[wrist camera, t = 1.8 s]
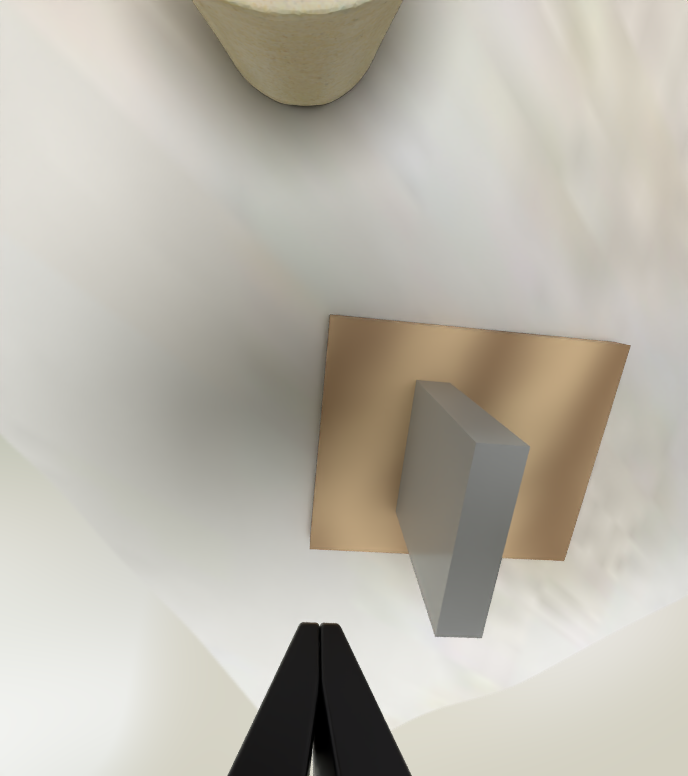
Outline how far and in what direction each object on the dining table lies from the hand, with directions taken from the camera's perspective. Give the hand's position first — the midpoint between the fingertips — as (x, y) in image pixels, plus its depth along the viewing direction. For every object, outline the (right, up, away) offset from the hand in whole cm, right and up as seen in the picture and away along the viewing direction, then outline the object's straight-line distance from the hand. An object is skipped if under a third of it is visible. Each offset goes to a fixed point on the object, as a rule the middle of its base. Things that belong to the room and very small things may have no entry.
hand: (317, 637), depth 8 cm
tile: (+4, +2, +10) cm, 11 cm away
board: (+6, +2, +11) cm, 13 cm away
